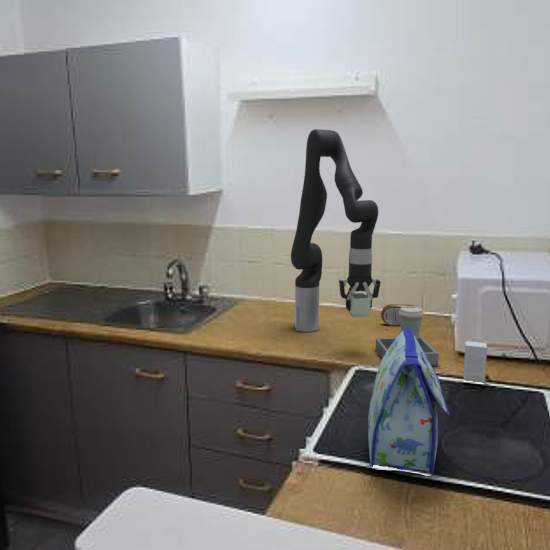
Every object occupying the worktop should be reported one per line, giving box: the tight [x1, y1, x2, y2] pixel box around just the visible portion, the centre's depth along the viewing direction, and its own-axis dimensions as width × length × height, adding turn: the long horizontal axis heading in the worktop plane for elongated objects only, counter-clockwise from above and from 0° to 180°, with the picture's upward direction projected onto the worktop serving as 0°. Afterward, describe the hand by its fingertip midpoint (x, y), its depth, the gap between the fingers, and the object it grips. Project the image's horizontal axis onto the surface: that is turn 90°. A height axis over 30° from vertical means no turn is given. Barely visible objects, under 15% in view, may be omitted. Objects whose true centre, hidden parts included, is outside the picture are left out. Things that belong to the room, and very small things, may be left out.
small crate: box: [346, 292, 371, 318], centre depth 187 cm, size 6×8×6 cm
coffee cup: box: [399, 305, 424, 337], centre depth 199 cm, size 8×8×12 cm
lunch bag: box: [367, 329, 451, 475], centre depth 125 cm, size 22×17×26 cm
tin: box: [380, 303, 415, 327], centre depth 217 cm, size 15×3×8 cm, turn 84°
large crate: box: [375, 336, 439, 368], centre depth 183 cm, size 16×16×4 cm
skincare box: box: [463, 340, 488, 384], centre depth 163 cm, size 6×4×12 cm
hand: (358, 309), depth 187 cm, fingers closed on small crate, 6 cm apart
